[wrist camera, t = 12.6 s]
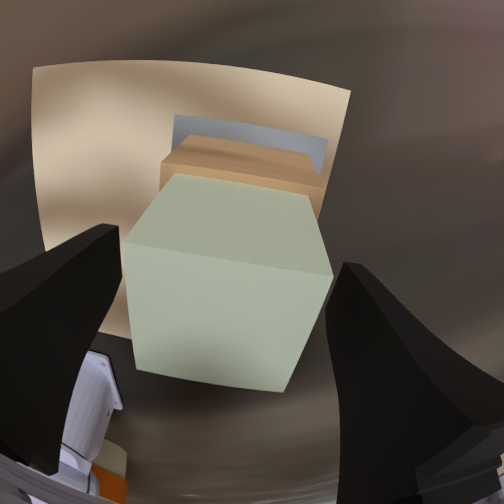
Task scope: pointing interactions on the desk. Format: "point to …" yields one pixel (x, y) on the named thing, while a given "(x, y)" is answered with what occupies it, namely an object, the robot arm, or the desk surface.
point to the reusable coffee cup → (111, 472)
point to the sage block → (224, 282)
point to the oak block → (245, 166)
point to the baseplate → (157, 136)
